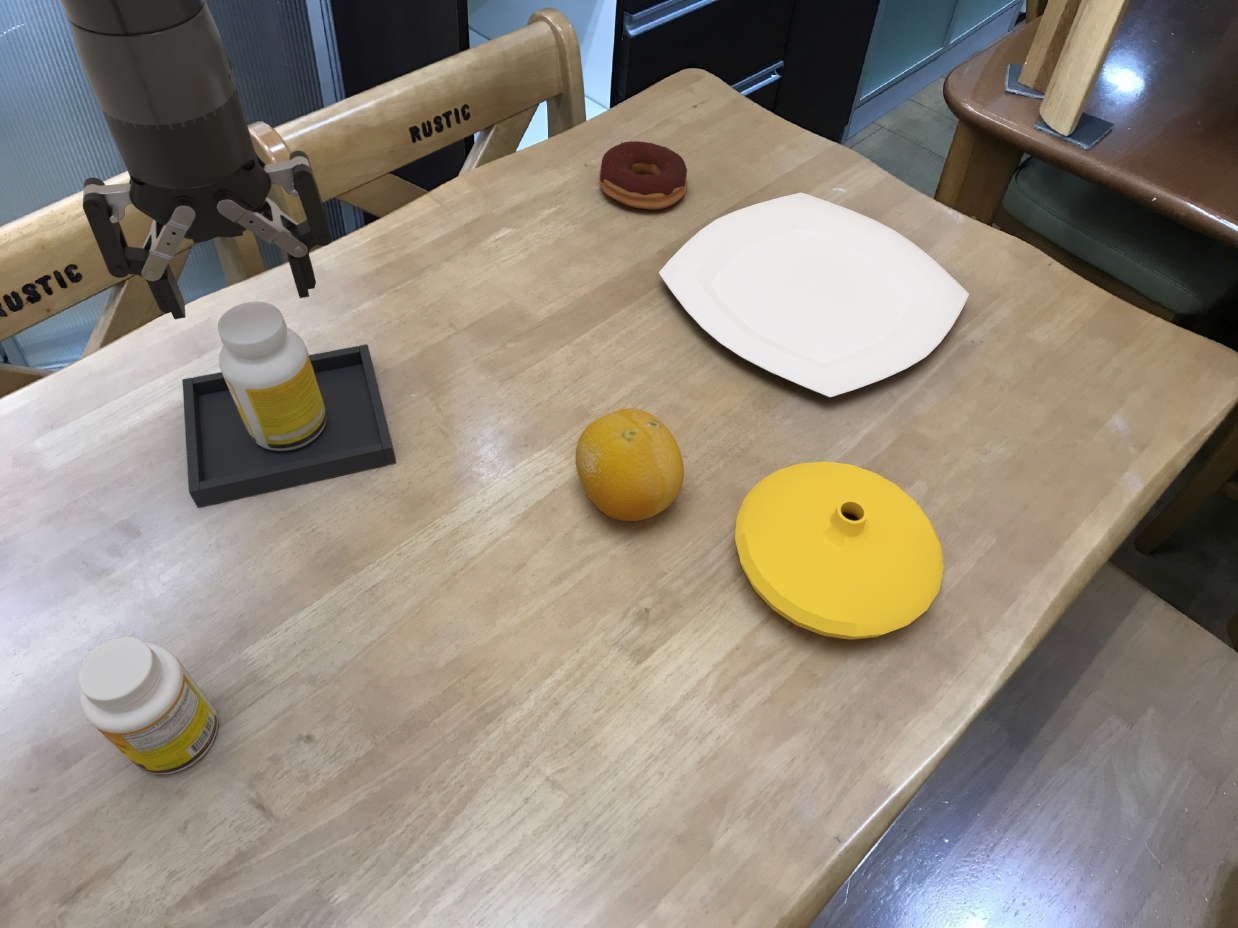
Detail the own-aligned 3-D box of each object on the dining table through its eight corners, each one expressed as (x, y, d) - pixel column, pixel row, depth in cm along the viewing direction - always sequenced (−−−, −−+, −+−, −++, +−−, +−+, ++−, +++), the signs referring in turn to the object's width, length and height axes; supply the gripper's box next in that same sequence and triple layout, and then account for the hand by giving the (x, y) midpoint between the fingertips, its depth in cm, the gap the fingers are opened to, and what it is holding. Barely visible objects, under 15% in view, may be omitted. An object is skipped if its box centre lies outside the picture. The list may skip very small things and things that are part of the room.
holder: (197, 508, 70) (188, 492, 68) (190, 396, 77) (182, 379, 75) (396, 463, 73) (392, 447, 72) (371, 360, 81) (367, 343, 79)
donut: (704, 193, 100) (709, 162, 97) (642, 227, 95) (644, 195, 92) (642, 154, 104) (645, 123, 101) (579, 185, 99) (580, 153, 96)
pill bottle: (344, 426, 75) (313, 323, 66) (277, 467, 72) (235, 365, 63) (299, 386, 77) (264, 281, 68) (233, 424, 74) (187, 320, 65)
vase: (811, 453, 76) (830, 397, 71) (970, 568, 70) (1004, 516, 64) (687, 558, 69) (698, 505, 63) (851, 698, 62) (879, 652, 57)
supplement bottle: (127, 713, 59) (59, 641, 51) (214, 684, 61) (161, 610, 53) (134, 791, 56) (63, 728, 48) (226, 758, 57) (172, 691, 50)
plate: (621, 285, 89) (622, 269, 87) (795, 188, 101) (799, 173, 100) (829, 441, 77) (834, 426, 76) (998, 310, 89) (1005, 295, 88)
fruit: (699, 500, 72) (712, 437, 66) (629, 556, 69) (636, 495, 63) (623, 439, 76) (629, 374, 70) (553, 489, 72) (552, 425, 66)
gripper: (26, 136, 48) (138, 354, 60) (299, 103, 51) (350, 316, 64) (34, 69, 52) (137, 286, 65) (285, 43, 56) (336, 253, 68)
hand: (243, 301), depth 64 cm, fingers open, 8 cm apart
